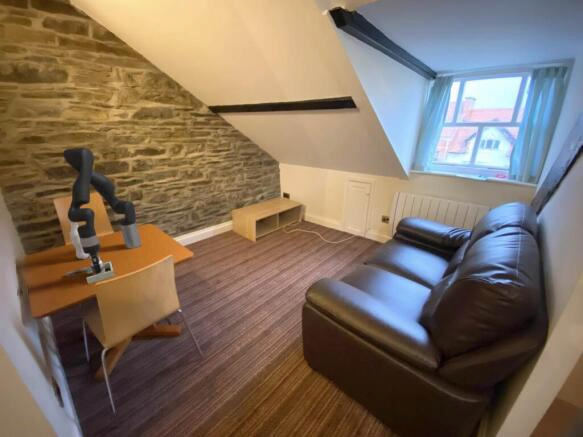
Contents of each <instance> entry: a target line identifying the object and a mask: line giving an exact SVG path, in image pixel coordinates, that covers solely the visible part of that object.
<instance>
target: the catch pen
mask: <svg viewBox="0 0 583 437" xmlns="http://www.w3.org/2000/svg"><path fill="white" fill-rule="evenodd" d="M103 265H104V269H105V270H106V269H110V270H108V271H105V272H104V273H101V274H97V275H94V274H93V271H92V268H91V267H90V266H87V267H88V268H86V267H85V268H86V271H87V272H86V273H87V275H88V274H93V275H91V276H87V277H86V280H87V284H91V283H96V282H98V281H102V280H105V279H108V278H109V279H110V278H113V277H115V276H116V275H115V272H114V268H113V265H112V261H107V262H103Z"/></svg>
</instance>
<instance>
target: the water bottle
mask: <svg viewBox="0 0 583 437" xmlns="http://www.w3.org/2000/svg"><path fill="white" fill-rule="evenodd" d="M69 223H70V227H71V228H70V231H69V238H70V240H71V242H72V243H71V244H72V246H73V247H74V249H75V255H76V257H77V258H78V259H79V260H82V259H83V260H86V259H87V258H90V257H89V254H85V253H84V252H83V249H82V245H81V242H80V237H79V234H78V231H77V228H78V227H79V226H80V225H79V222H72V221H69Z"/></svg>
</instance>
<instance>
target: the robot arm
mask: <svg viewBox="0 0 583 437" xmlns="http://www.w3.org/2000/svg"><path fill="white" fill-rule="evenodd" d="M62 156H63V159H64V160H65V161H66V163H67V164H68V165H69V166H70V167H71V168H73V169H74V170H75V171H76V172H77V173H79V174H78V176H77V177H76V179H75V181H74V182H73V184H72V188H71V202H70V206H69V208H68V211H67V219H68V220H69V222H71V221H72V222H77V223H82V222H85V224H81V225H78V226H79V227H78V228H77V231H78V234H79V237H80V242H81V245H82V249H83V252H84V253H85V254H89V257H88V258H89V259H90V263H92V264H93V265H94V268H95V270H96V273H99V272H101V268H100V264H99V262H100V260H101V259H100V260H99V258H100V254H99V252H100V251H101V250H102V247H101V244H100V241H99V237H98V235H97V233H96V230H95V216H96V215H95V214H96V213H95V211H94V210H93V208H90V207H89V208H88V207H83V208H81V207H82V206H84V205H87V204H90V202H91V196H90V195H91V190H90V188H91V187H92V188H93V189H94V190H95V191H96V192H97V193H98V194H99V195H100V196H101V197H102V198H103V200H105V202H106V203H107V204H108V205H109V207H110V208H111V211H112V212H114V213H115V214H118V215H124V218H121V219H120V220H119V225H120V230H121V234H122V237H123V242H124V246H125V248H127V249H136V248H138V247H141V246H142V242H141V237H140V233H139V230H138V224H137V222H136V221H137V215H136V209H135V205H134V203H133V202H132V201H131V200H120V199H119V198H118V197H117V196H116V194H115V193H116V187H115V185H114V183H113V182H112V181H111V180H110V178H108V176H106V175H104V174H103V173H101V172H99V171H97V170H95V169H94V164H95V162H94V161H95V156H94V153H93V151H91V150H90V149H89V148H88V147H73V148H72V147H71V148H66V149H65V150H63V152H62ZM90 186H91V187H90ZM95 264H98V265H95Z"/></svg>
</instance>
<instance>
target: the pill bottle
mask: <svg viewBox="0 0 583 437" xmlns="http://www.w3.org/2000/svg"><path fill="white" fill-rule="evenodd" d="M99 260H100V262H99V264H100V268H101V272H99V273H96V270H95V268H94V265H93V264H92V262H90V266H91V268H92V271H93V272H92V275H93V276H94V275H97V274H101V273H104V272H106V269H104V265H103V263H104V262H103V261H102V260H101V258H100V257H99ZM95 265H98V264H95Z"/></svg>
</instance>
